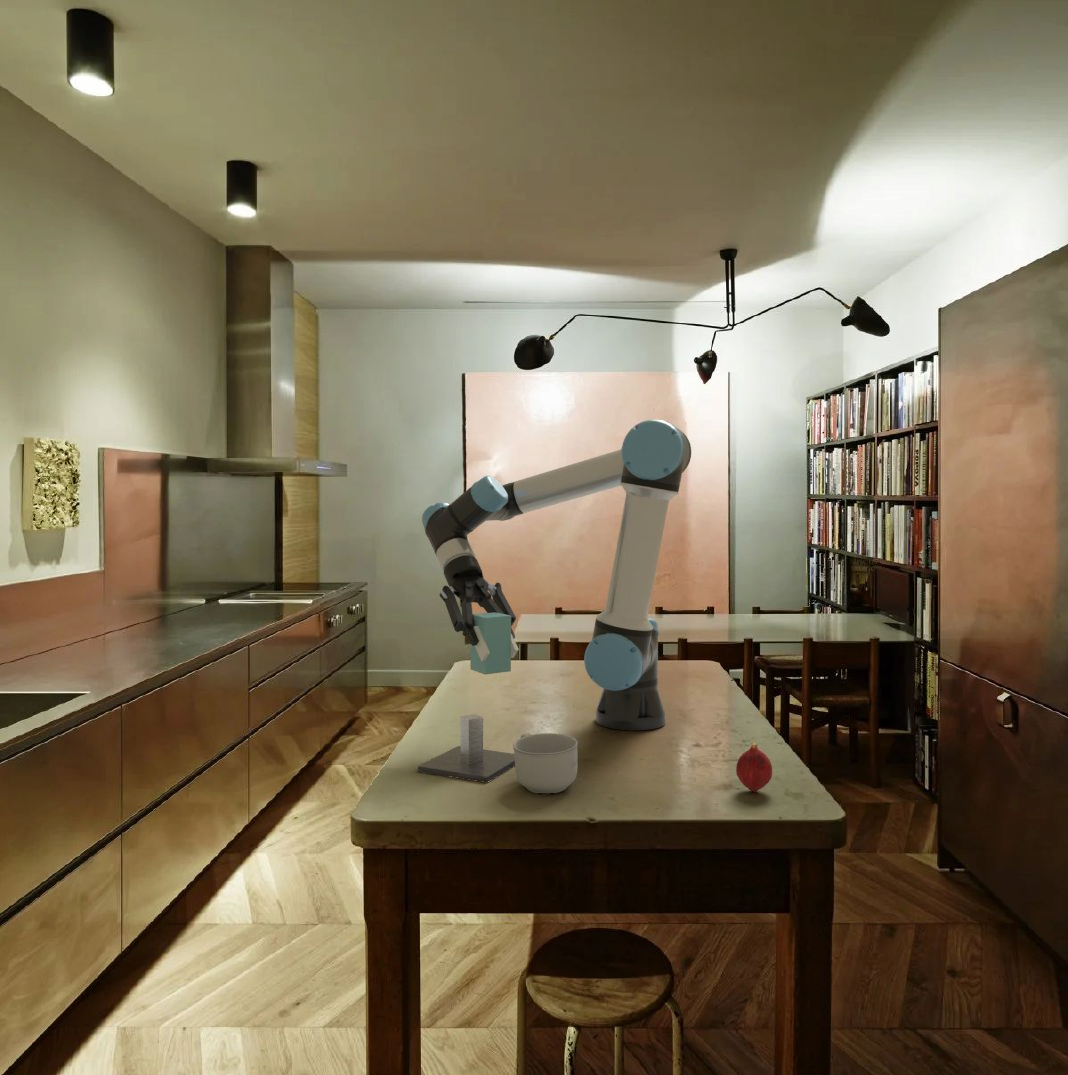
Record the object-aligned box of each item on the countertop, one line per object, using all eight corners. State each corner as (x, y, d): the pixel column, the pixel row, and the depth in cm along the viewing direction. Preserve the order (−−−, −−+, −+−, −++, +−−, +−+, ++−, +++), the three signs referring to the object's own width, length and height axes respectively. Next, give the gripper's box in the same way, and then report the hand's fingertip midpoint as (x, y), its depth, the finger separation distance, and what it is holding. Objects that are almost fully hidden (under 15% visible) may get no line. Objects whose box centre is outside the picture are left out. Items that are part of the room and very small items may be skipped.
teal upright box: (495, 666, 170) (495, 612, 170) (510, 671, 165) (511, 615, 165) (470, 669, 167) (470, 614, 166) (485, 674, 162) (485, 617, 162)
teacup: (586, 795, 137) (587, 747, 137) (522, 802, 134) (523, 752, 134) (560, 770, 151) (560, 725, 150) (501, 775, 148) (501, 730, 147)
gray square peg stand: (523, 760, 156) (523, 712, 156) (487, 782, 144) (487, 730, 143) (458, 751, 162) (458, 704, 162) (418, 771, 149) (417, 721, 149)
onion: (777, 797, 136) (778, 748, 136) (742, 798, 136) (743, 749, 136) (764, 785, 142) (765, 738, 142) (731, 786, 142) (731, 739, 141)
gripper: (491, 575, 183) (533, 661, 170) (413, 579, 173) (450, 672, 160) (504, 552, 179) (548, 639, 166) (424, 554, 168) (464, 648, 155)
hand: (500, 655), depth 163 cm, fingers closed on teal upright box, 6 cm apart
